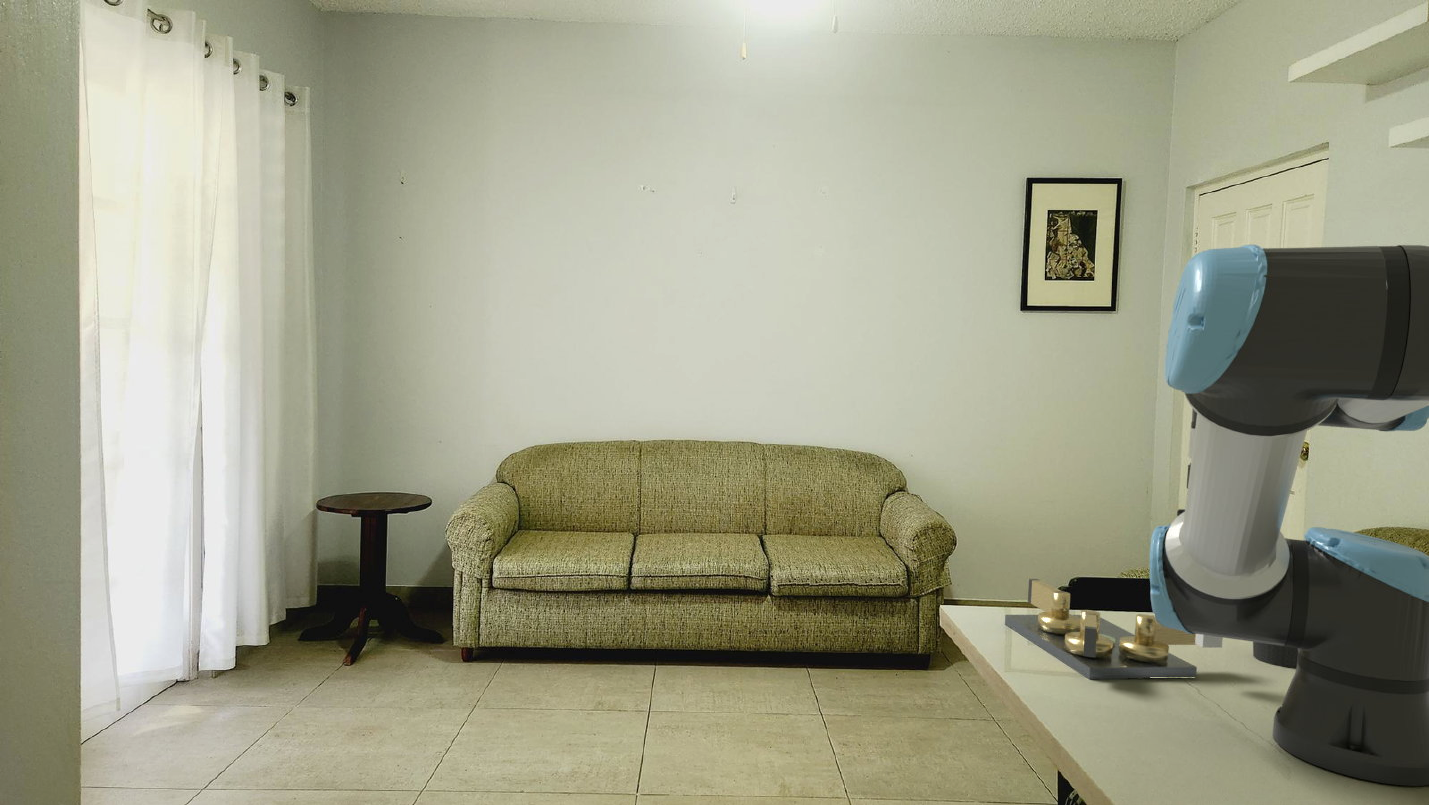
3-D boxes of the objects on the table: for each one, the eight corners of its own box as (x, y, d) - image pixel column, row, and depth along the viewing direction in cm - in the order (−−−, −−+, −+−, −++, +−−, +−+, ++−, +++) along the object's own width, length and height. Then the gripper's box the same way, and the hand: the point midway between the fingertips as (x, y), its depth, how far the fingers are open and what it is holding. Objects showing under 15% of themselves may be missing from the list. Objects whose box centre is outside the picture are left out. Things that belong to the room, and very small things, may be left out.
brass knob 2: (1064, 641, 129) (1067, 604, 128) (1111, 647, 126) (1113, 610, 126) (1063, 665, 118) (1065, 625, 118) (1114, 673, 116) (1116, 632, 115)
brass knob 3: (1135, 662, 120) (1138, 623, 120) (1109, 647, 126) (1112, 610, 126) (1216, 662, 122) (1218, 623, 122) (1186, 647, 128) (1189, 610, 128)
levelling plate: (1195, 678, 120) (1197, 660, 120) (1089, 679, 118) (1090, 660, 118) (1095, 624, 144) (1096, 609, 144) (1004, 624, 142) (1005, 609, 142)
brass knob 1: (1089, 634, 132) (1091, 598, 132) (1050, 634, 131) (1052, 598, 131) (1049, 612, 144) (1051, 579, 143) (1013, 611, 143) (1015, 578, 142)
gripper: (1286, 470, 111) (1272, 662, 113) (1213, 458, 124) (1201, 630, 125) (1230, 469, 110) (1216, 663, 111) (1162, 456, 123) (1150, 630, 124)
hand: (1208, 645), depth 118 cm, fingers closed
